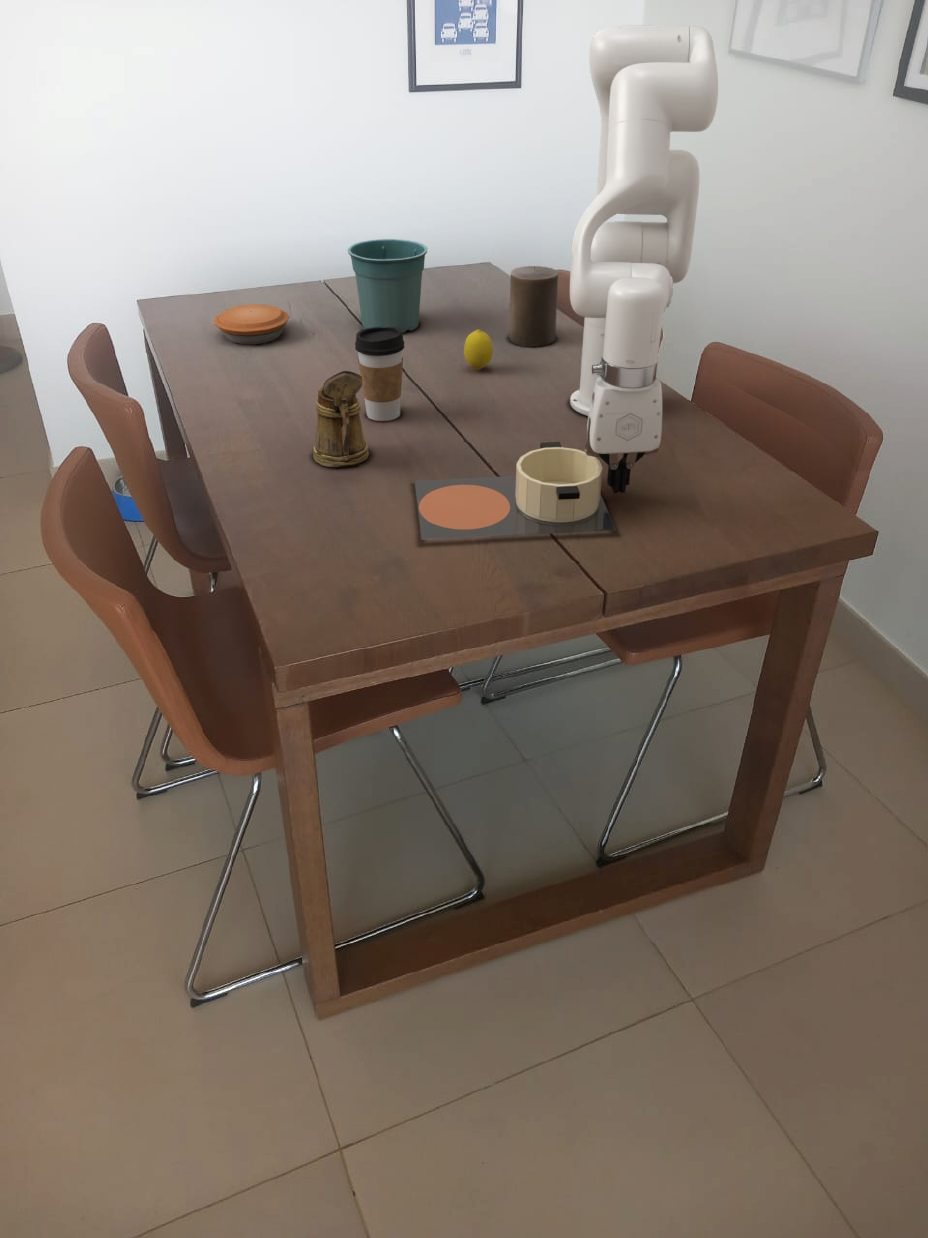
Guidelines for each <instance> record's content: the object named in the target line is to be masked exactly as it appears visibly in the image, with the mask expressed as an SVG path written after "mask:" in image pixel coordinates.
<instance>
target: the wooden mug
mask: <svg viewBox="0 0 928 1238" xmlns="http://www.w3.org/2000/svg"><path fill="white" fill-rule="evenodd" d="M362 388H363V387H362V377H361V375H360V374H358V373H356V372H353V371H349V370H343V371H340V372H337V373H336V374H334V375H332V376H330V377H329V378H328V379H326V380H325V382H324V383H323V386H322V387H321V388H320V389H319V390H318V391H317V398H316V401H315V411H316V415H317V416H316V426H315V427H316V429H315V430H316V432H315V444H314V446H313V453H312V454H313V459H314V461H315V462H316V463H317V464H320V465H321V466H324V467H328V468H337V469H341V468H348V467H354V466H358V465H360V464H363V462H365V461H366V460H367V459H368V457H369V455H370V452H369V447H368V443H367V442H366V440H365V435H364V430H363V425H362V421H361V416H360V415H361V414H360V412H361V411H362V407H361V404H360V400H359V398H358V396H357V394H358V393H359V392H360V390H361V389H362Z"/></svg>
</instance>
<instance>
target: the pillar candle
mask: <svg viewBox="0 0 928 1238" xmlns="http://www.w3.org/2000/svg"><path fill="white" fill-rule="evenodd" d="M509 281H510V282H509V283H510V285H509V286H510V287H509V318H508V320H509V321H508V339H509V340H510V342H512V343H514V344H515V345H518V346H522V347H545V346H548V345H551V344H552V343H554V342H555V341H556V331H557V328H556V327H557V310H558V309H557V308H558V307H557V306H558V285H559V283H558V281H559V271H557V270H556V269H555V268H553V267H549V266H541V265H528V266H519V267H518V266H517V267H514V268H513V269H512V270H511V271H510V280H509Z"/></svg>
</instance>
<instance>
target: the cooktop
mask: <svg viewBox="0 0 928 1238" xmlns="http://www.w3.org/2000/svg"><path fill="white" fill-rule="evenodd" d="M414 490H415V498H416V506H417V514H418V515H417V516H418V524H419V533H420V540H421V541H431V540H432V541H433V540H434V541H435V540H450V539H452V540H453V539H470V538H471V539H472V538H490V537H491V538H492V537H511V536H512V537H513V536H530V535H533V536H534V535H549V534H551V535H552V534H570V533H591V532H606V531H608V532H609V531H610V532H611V531H617V529H616V526H615V525H614V522H613V520H612V517H611V515H610V513H609V510H608V508H607V505H606V504H605V502H604V499H603V496H602V494H601V493H600V501H599V506H598V508H597V510H596V511H595V513H593V514H592V515H591V516H589V517H587V518H585V519H582V520H578V521H573V522H561V523H558V522H547V521H542V520H538V519H535V518H532V517H530V516H528V515H526V514H525V513H523V512H522V511H521V510H520V509H519V508H518V506H517V504H516V497H515V493H516V475H508V476H507V475H506V476H504V475H503V476H488V477H487V476H486V477H485V476H484V477H465V478H463V477H462V478H443V479H419V480H414Z"/></svg>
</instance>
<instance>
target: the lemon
mask: <svg viewBox="0 0 928 1238" xmlns="http://www.w3.org/2000/svg"><path fill="white" fill-rule="evenodd" d="M493 353H494V349H493V343H492V339H491V337H490V336H489V335H488V334H487V332H485V331H482V330H481V329H476V330H474V331H472V332H471V333H470V334H468V335H467V337H466V339H465V342H464V345H463V354H464V359H465V361H466V363H467V364H468V365H469V366H470V367H472V368H474V369H475V370H476V371H480V370H481V369H482V368H484V367H486V366H488V365H489V363H490V362H491V360H492V358H493Z"/></svg>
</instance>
